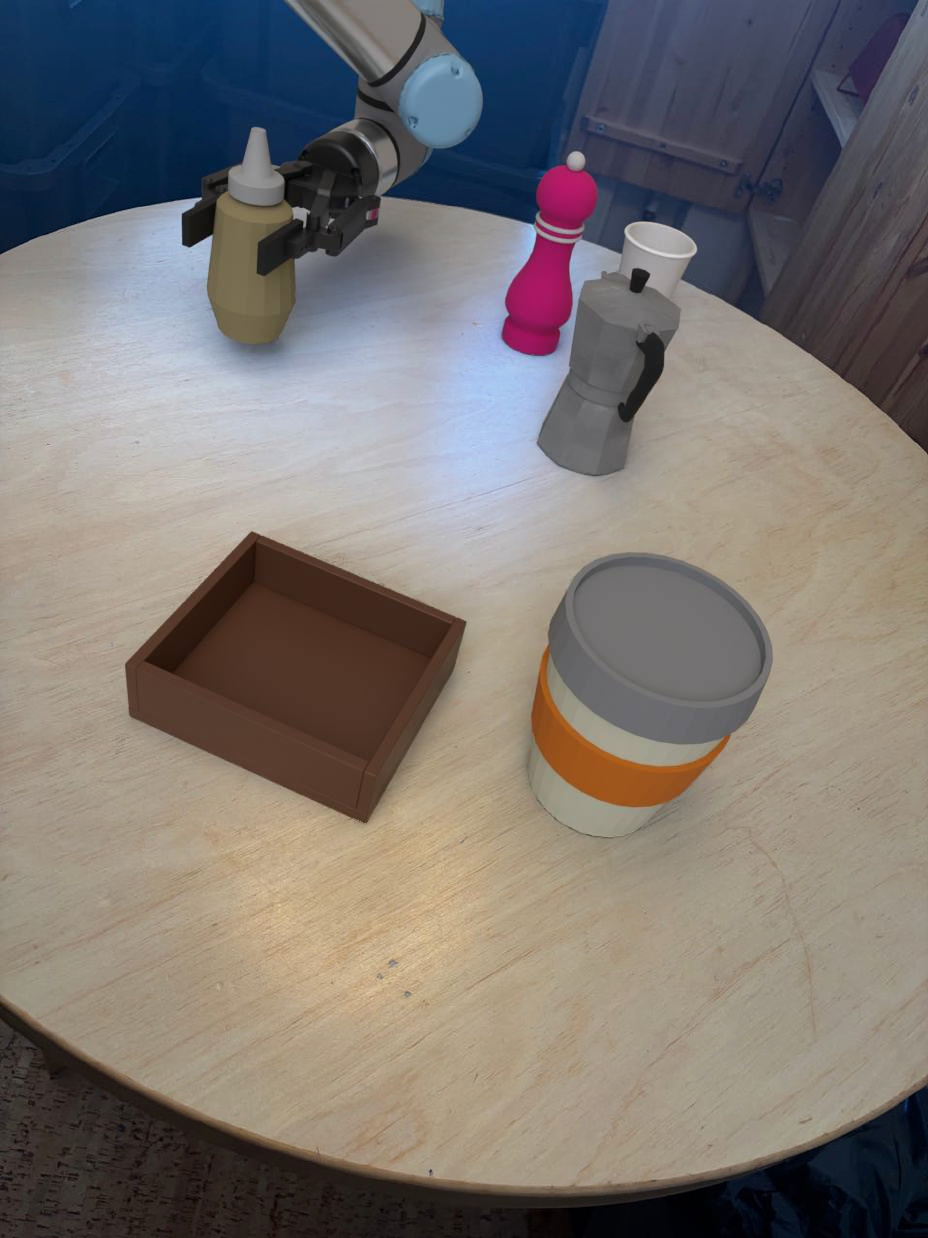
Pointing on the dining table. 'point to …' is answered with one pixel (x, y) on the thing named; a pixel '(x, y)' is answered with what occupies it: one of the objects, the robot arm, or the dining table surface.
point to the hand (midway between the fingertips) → (223, 244)
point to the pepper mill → (550, 260)
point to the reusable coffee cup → (640, 688)
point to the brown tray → (297, 673)
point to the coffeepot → (608, 371)
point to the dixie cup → (657, 254)
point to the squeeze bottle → (250, 250)
